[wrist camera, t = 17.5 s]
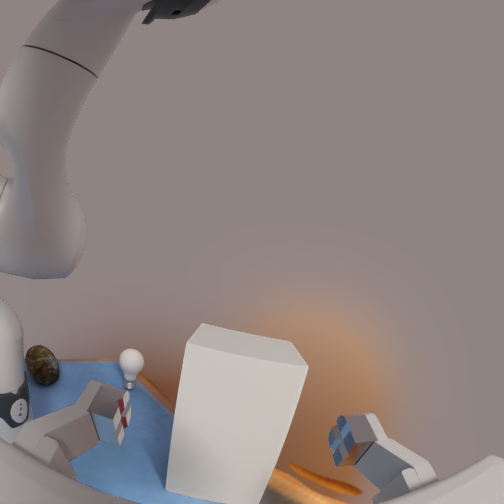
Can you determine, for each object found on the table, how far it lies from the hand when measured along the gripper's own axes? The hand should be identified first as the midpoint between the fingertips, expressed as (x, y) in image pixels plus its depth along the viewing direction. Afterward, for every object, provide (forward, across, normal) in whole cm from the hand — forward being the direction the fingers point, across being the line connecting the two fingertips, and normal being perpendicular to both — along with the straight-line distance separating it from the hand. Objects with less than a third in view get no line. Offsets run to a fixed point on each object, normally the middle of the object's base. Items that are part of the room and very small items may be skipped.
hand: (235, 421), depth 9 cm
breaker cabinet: (+16, -2, +36) cm, 40 cm away
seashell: (+30, +39, +39) cm, 63 cm away
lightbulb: (+40, +20, +44) cm, 63 cm away
